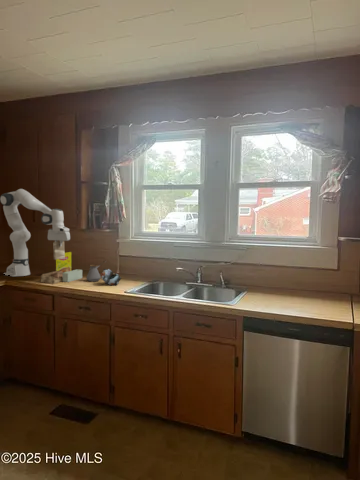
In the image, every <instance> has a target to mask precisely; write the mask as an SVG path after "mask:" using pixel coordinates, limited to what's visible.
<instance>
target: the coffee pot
mask: <svg viewBox="0 0 360 480" xmlns="http://www.w3.org/2000/svg"><path fill="white" fill-rule="evenodd" d="M104 263H107V260H103V262H100V264H98V265H97V264H90V265H89V267H90V268H89V271H88V273H87V275H86V280H87V281H88V282H91V283H93V282H96V283H97V282H99V281H100V279H102V277H101V273H99V270H98V268H99V267H100V266H102V265H103V264H104Z"/></svg>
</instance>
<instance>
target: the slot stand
mask: <svg viewBox="0 0 360 480" xmlns="http://www.w3.org/2000/svg"><path fill="white" fill-rule="evenodd" d="M80 279H83V269H73V270H72V269H71V271H68V272H64V273H63V281H62V282H63V283H70V282H73V281H77V280H80Z"/></svg>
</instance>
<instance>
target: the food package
mask: <svg viewBox="0 0 360 480" xmlns="http://www.w3.org/2000/svg"><path fill="white" fill-rule="evenodd" d="M55 271H62V273H64V272H68V271H72V251H69V252H65V258H61V259H56V260H55Z"/></svg>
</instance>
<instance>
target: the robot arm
mask: <svg viewBox="0 0 360 480" xmlns="http://www.w3.org/2000/svg"><path fill="white" fill-rule="evenodd" d="M0 203H1V205H3V206H2V209H3V213H4V216H5V219H6V221H7V225H8V226H9V227H10V228H11V229H12V232H11V233H10V235H9V240H10V241H11V243H12V248H13V258H12V259H11V261H12V263H11V264H10V265H8V266H7V267H6V272H4V273H3V274H5V275H4V276H8V275H10V276H9V277H24V276H25V277H26V276H30V275H31V270H30V264H29V261H30V260H29V259H30V258H29V249H28V247H27V242H28V241H29V240H30V239H31V236H32V235H31V232H30V231H29V230H28V229H27V227H26V225H25V223H24V222H23V219H22V217H21V214H20V212H19V209H18V207H19V206H23V207H25V208H26V209H28V210H33V211H39V212H42V213H43V214H42V215H41V218H40V220H41V223H42V224H44V225H45V226H46V225H47V226H48V225H49V226H51V225H52V228H49V229H48V230H47V240H48V241H54V242H57V241H60V244H59V246H62V243H63V241H64V242H69V241H71V233H70V228H68V227H66V226H65V223H64V221H65V219H64V216H65V215H64V211H63V210H62V209H60V208H52V209H51V208H50V207H49V206H48V205H46V203H43V202H42V201H40V200H39V199H37V198H36V197H35V196H34V195H32V194H31V193H30V192H29V191H27V190H26V189H23V188H19V189H17V190H15V191H10V192H5V193H2V194H1V195H0Z"/></svg>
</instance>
